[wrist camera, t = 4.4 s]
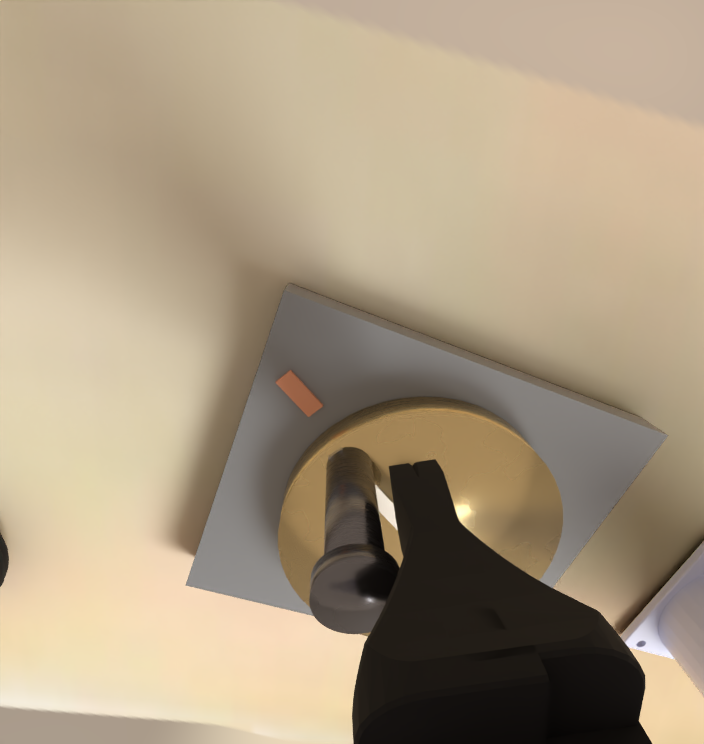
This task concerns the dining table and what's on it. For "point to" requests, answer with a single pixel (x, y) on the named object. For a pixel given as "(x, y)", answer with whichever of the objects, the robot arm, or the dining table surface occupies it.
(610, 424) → the stand
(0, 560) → the tape measure
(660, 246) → the dining table surface
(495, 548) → the brass disc with crank
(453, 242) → the dining table surface
